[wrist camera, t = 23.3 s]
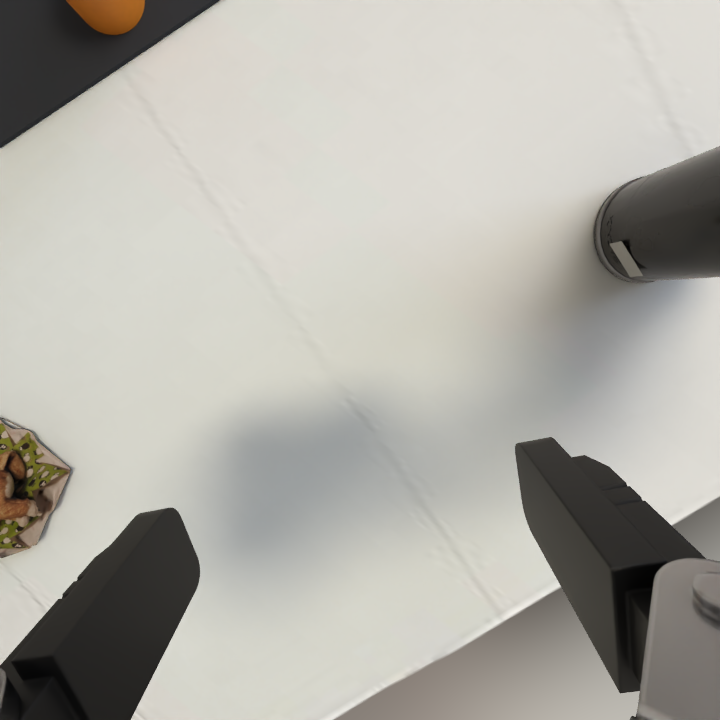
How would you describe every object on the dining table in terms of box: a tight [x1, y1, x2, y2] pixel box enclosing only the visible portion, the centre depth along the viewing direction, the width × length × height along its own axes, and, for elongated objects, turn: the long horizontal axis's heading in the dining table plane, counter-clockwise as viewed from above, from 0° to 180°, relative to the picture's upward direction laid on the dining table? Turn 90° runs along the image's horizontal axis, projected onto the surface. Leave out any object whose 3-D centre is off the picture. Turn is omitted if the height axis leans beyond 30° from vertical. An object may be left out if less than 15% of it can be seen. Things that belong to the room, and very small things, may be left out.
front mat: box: [0, 0, 219, 148], centre depth 33 cm, size 26×10×1 cm, turn 122°
